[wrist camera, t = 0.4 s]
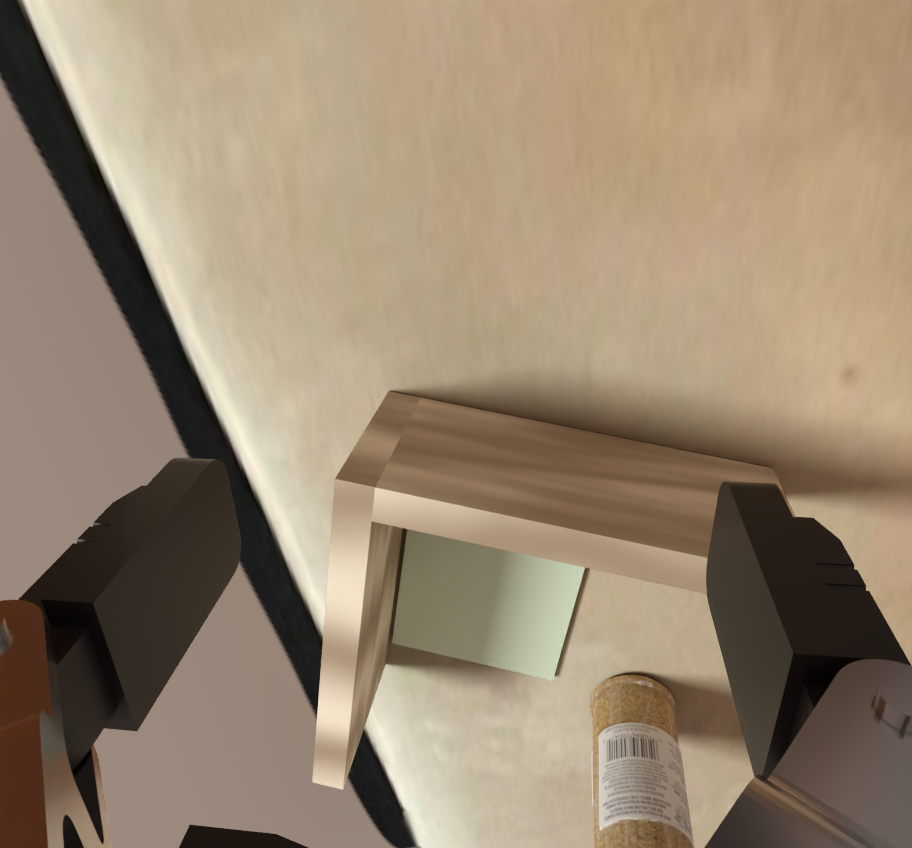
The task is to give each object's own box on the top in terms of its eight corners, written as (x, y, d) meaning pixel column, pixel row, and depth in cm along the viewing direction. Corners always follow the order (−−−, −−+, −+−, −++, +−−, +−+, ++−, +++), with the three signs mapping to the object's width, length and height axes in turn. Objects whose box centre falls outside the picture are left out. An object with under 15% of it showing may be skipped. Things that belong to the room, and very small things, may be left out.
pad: (411, 505, 36) (410, 509, 35) (590, 544, 35) (590, 548, 35) (393, 639, 40) (391, 643, 40) (553, 676, 39) (552, 680, 39)
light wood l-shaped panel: (388, 391, 33) (334, 479, 26) (772, 468, 32) (826, 583, 25) (359, 658, 41) (312, 782, 34) (666, 730, 40) (684, 874, 32)
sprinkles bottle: (585, 723, 40) (584, 997, 28) (596, 663, 38) (601, 931, 26) (667, 737, 40) (702, 1023, 28) (684, 677, 38) (729, 958, 26)
